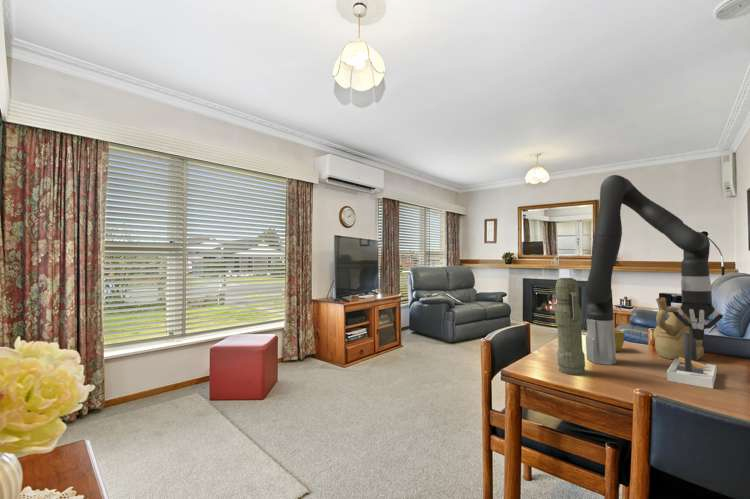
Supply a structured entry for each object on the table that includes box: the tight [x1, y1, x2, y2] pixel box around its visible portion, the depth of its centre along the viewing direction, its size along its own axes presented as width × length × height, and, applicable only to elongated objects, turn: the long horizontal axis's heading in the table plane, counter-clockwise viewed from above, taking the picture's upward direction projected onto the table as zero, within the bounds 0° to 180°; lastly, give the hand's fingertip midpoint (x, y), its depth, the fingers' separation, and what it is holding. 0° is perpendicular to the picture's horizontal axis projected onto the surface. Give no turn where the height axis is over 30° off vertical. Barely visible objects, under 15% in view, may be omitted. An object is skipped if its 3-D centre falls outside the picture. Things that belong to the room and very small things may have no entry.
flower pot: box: [614, 328, 625, 352], centre depth 154 cm, size 9×9×9 cm
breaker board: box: [666, 359, 718, 390], centre depth 117 cm, size 19×11×4 cm, turn 132°
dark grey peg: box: [683, 332, 692, 372], centre depth 111 cm, size 2×2×13 cm
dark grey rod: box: [689, 327, 698, 361], centre depth 123 cm, size 2×2×13 cm
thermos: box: [554, 277, 586, 376], centre depth 127 cm, size 9×12×35 cm
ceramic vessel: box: [652, 297, 705, 361], centre depth 140 cm, size 17×20×25 cm
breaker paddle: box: [678, 357, 706, 370], centre depth 117 cm, size 2×7×2 cm, turn 42°
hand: (699, 339), depth 115 cm, fingers closed
